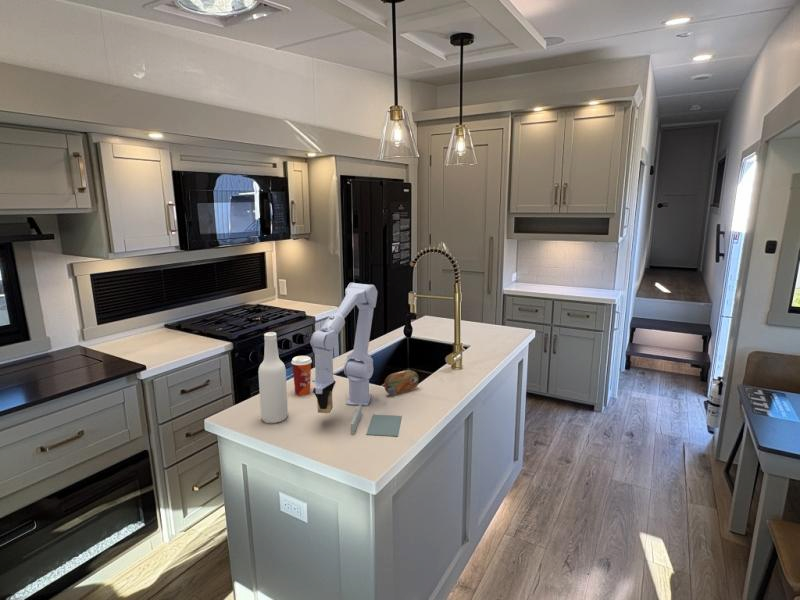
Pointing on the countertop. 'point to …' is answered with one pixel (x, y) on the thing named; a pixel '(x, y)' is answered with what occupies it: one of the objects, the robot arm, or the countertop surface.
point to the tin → (401, 382)
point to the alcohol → (272, 383)
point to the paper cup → (302, 374)
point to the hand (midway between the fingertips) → (325, 405)
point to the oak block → (329, 406)
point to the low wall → (356, 419)
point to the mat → (384, 425)
